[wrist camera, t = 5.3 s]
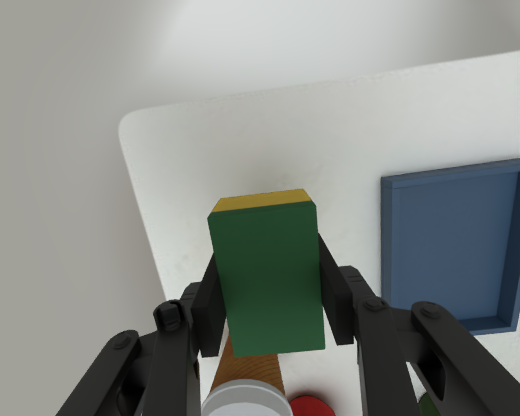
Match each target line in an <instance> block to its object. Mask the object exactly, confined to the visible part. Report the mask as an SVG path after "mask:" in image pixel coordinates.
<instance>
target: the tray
mask: <svg viewBox="0 0 520 416" xmlns="http://www.w3.org/2000/svg"><path fill="white" fill-rule="evenodd" d="M381 281H382V299H384V300H385V301H386V302H388V304H389V306H390V307H394V308H399V309H407V310H411V307H412V304H414V303H415V302H418V301H429V302H433V303H436V304H439V305H441V306H443V307H444V308H445V309H447V310H448V311H449V312H450V313H451V314H452V315H453V316H454V317H455V318H456V319H457V320H458V321H459V322H460V323H461V324H462V325H463V326H464V327H465V328H466V329H467V330H468V331H469V332H470V333H471V334H472V335H473V336H475V335H485V334H494V333H504V332H514V331H516V328H517V324H518V318H519V313H520V158H518V159H511V160H504V161H496V162H489V163H482V164H475V165H468V166H460V167H453V168H446V169H439V170H432V171H424V172H417V173H410V174H403V175H396V176H388V177H382V178H381Z"/></svg>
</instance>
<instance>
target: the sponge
mask: <svg viewBox="0 0 520 416" xmlns="http://www.w3.org/2000/svg"><path fill="white" fill-rule="evenodd" d="M207 220H208V225H209V230H210V235H211V240H212V245H213V251H214V256H215V261H216V266H217V271H218V273H219V278H220V283H221V288H222V293H223V299H224V304H225V309H226V317H227V322H228V327H229V332H230V337H231V342H232V348H233V353H234V357H245V356H256V355H267V354H278V353H290V352H301V351H312V350H323V349H325V335H324V320H323V305H322V290H321V274H320V258H319V243H318V227H317V212H316V205H315V204H314V202H313V201H312V200H311V198H310V197H309V196H308V194H307V193H306V192H305V190H304V189H296V190H287V191H279V192H271V193H262V194H254V195H246V196H237V197H229V198H221V199H220V200H219V201H218V203H217V204H216V206H215V207H214V209H213V210H212V212H211V213H210V215H209V216H208V218H207Z"/></svg>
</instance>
